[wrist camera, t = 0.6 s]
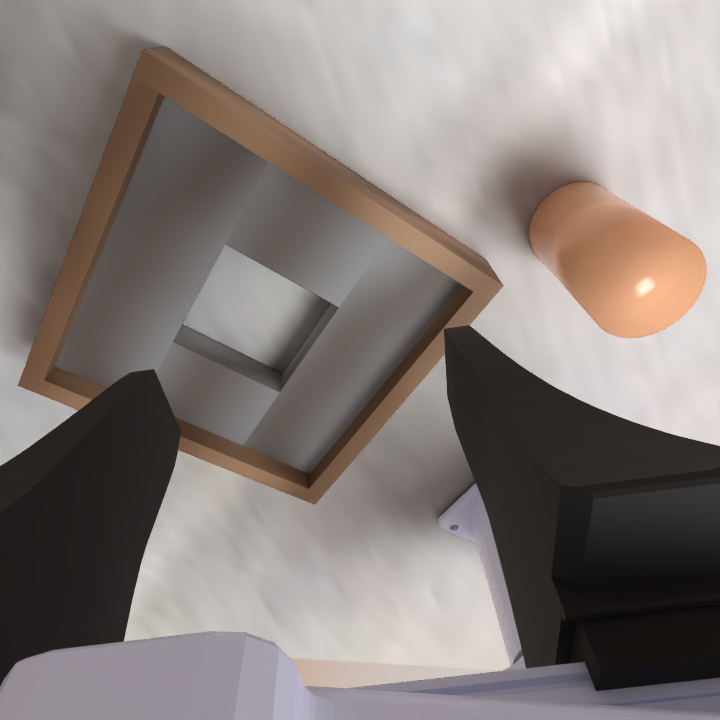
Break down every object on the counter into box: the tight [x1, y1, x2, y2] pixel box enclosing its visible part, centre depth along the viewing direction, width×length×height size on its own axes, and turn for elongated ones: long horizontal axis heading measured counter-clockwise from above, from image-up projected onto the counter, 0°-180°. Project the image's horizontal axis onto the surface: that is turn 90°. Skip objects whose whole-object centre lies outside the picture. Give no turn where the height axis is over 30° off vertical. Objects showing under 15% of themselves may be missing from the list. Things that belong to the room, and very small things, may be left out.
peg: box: [529, 182, 707, 338], centre depth 18 cm, size 4×4×6 cm
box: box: [18, 47, 503, 504], centre depth 21 cm, size 14×14×2 cm
